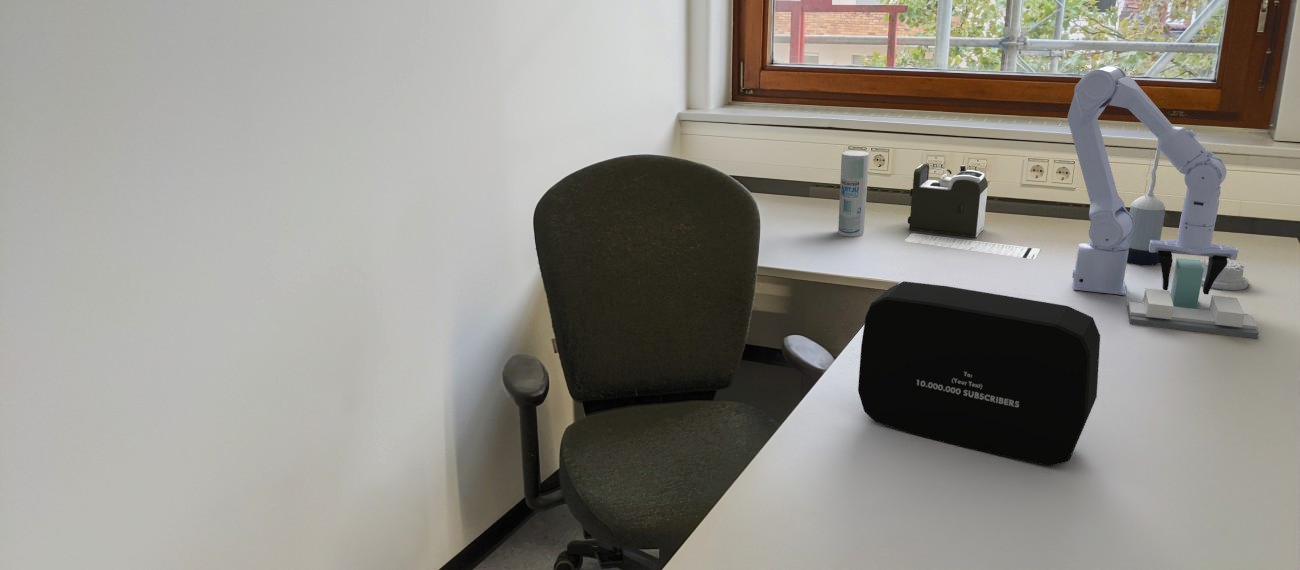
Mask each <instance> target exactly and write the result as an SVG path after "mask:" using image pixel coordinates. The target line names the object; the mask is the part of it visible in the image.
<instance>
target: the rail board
mask: <svg viewBox="0 0 1300 570" xmlns="http://www.w3.org/2000/svg"><path fill="white" fill-rule="evenodd" d="M1170 293H1171V291H1170V290H1163V289H1157V288H1156V289H1154V288H1145V289H1144V293H1143V300H1142V302H1138V301H1127V305H1126V307H1127V315H1128V318H1129V320H1128V321H1129V324H1130V325H1138V326H1145V327H1146V326H1147V327H1153V328H1165V329H1171V330H1172V329H1173V330H1179V331H1180V330H1181V331H1188V332H1189V331H1190V332H1195V333H1196V332H1197V333H1205V334H1212V335H1213V334H1214V335H1222V336H1231V337H1238V338H1239V337H1240V338H1249V339H1258V337H1259V332H1258V329H1257V328H1258V325H1257V323H1256V321H1255V320H1254V317H1253V315H1252V314H1248V313H1245V312H1244V309H1243V308H1242V305H1241V303H1240V301H1239V299H1238V297H1234V296H1231V297H1230V296H1223V295H1222V296H1221V295H1214V294H1213V295H1211V298H1210V304H1209V308H1208V309H1202V308H1197V309H1195V308H1186V307H1176V306H1173V302H1172V299H1171V295H1170Z"/></svg>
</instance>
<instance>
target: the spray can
mask: <svg viewBox="0 0 1300 570" xmlns="http://www.w3.org/2000/svg"><path fill="white" fill-rule="evenodd" d="M840 162H841V163H840V181H839V182H840V185H839V186H840V187H839V206H838V208H839V209H838V229H837V231H838V234H839V235H840V236H845V237H851V238H852V237H853V238H854V237H860V236H861V237H862V236H863V235H864V233H865V222H866V208H867V207H866V206H867V193H868V178H869V163H870V153H869V152H867V151H864V150H863V151H862V150H846V151H843V152H842V153H841V161H840Z"/></svg>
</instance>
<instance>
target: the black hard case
mask: <svg viewBox="0 0 1300 570" xmlns="http://www.w3.org/2000/svg"><path fill="white" fill-rule="evenodd" d="M863 324H864V325H863V326H864V327H863V332H862V333H863V334H862V338H861V339H862V340H861V346H860V355H859V357H860V358H859V360H860V361H859V371H858V385H857V392H858V395H859V399H860V403H861V405H862V409H863V412H865V414H866V415H867V416H869V418H871V419H872V420H873V421H874V422H876V423H878V424H882V425H885V426H888V427H891V428H893V429H897V430H899V431H902V432H906V433H908V434H911V435H915V436H919V437H924V438H927V439H931V440H936V441H938V442H942V443H946V444H949V445H954V446H958V447H962V448H965V449H969V450H974V451H979V452H984V453H988V454H993V455H998V456H1002V457H1007V458H1011V459H1017V460H1021V461H1025V462H1030V463H1034V464H1039V465H1044V466H1049V467H1050V466H1055V465H1059V464H1062V463H1066V462H1069V461H1071V458H1072V455H1073V453H1074V451H1075V449H1076V447H1077V443H1078V442H1079V439H1080V437H1081V435H1082V432H1083V430H1084V427H1085V426H1086V424H1087V422H1088V421H1087V420H1088V419H1089V416H1090V414H1091V412H1092V410H1093V409H1092V408H1094V404H1095V403H1096V400H1097V397H1098V380H1099V365H1100V364H1099V363H1100V346H1101V334H1100V331H1099V329H1098V326H1097V324H1096V321H1095V319H1094V317H1093V316H1090V315H1089V314H1086V313H1084V312H1083V311H1079V310H1077V309H1075V308H1073V307H1071V306H1068V305H1066V304H1065V305H1064V304H1060V303H1052V302H1046V301H1040V300H1035V299H1034V300H1033V299H1027V298H1022V297H1017V296H1009V295H1003V294H997V293H992V292H991V293H990V292H984V291H979V290H973V289H972V290H971V289H967V288H961V287H960V288H959V287H954V286H948V285H942V284H941V285H940V284H939V285H937V284H933V283H932V284H929V283H923V282H922V283H920V282H913V281H901V282H899V283H897V284H896V285H893V286H891V287H889V288H888V289H887V290H886V291H884V292H883V293H882V294H881V295H879V296H878V297H877V298H876V299H874V301H872V302H871V303H870V305H869V308H868V310H867V312H866V315H865V319H864V323H863Z"/></svg>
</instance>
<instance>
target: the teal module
mask: <svg viewBox="0 0 1300 570" xmlns="http://www.w3.org/2000/svg"><path fill="white" fill-rule="evenodd" d="M1203 272H1204V268H1203V266H1202V261H1201V260H1200V259H1192V258H1191V259H1190V258H1182V257H1181V258H1180V257H1176V260H1175V267H1174V271H1173V277H1172V281H1171V282H1172V283H1171V289H1170V295H1171V299H1172V302H1173V306H1176V307H1186V308H1195V309H1198V304H1199V296H1200V292H1201V286H1202V285H1201V282H1202V277H1203Z"/></svg>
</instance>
